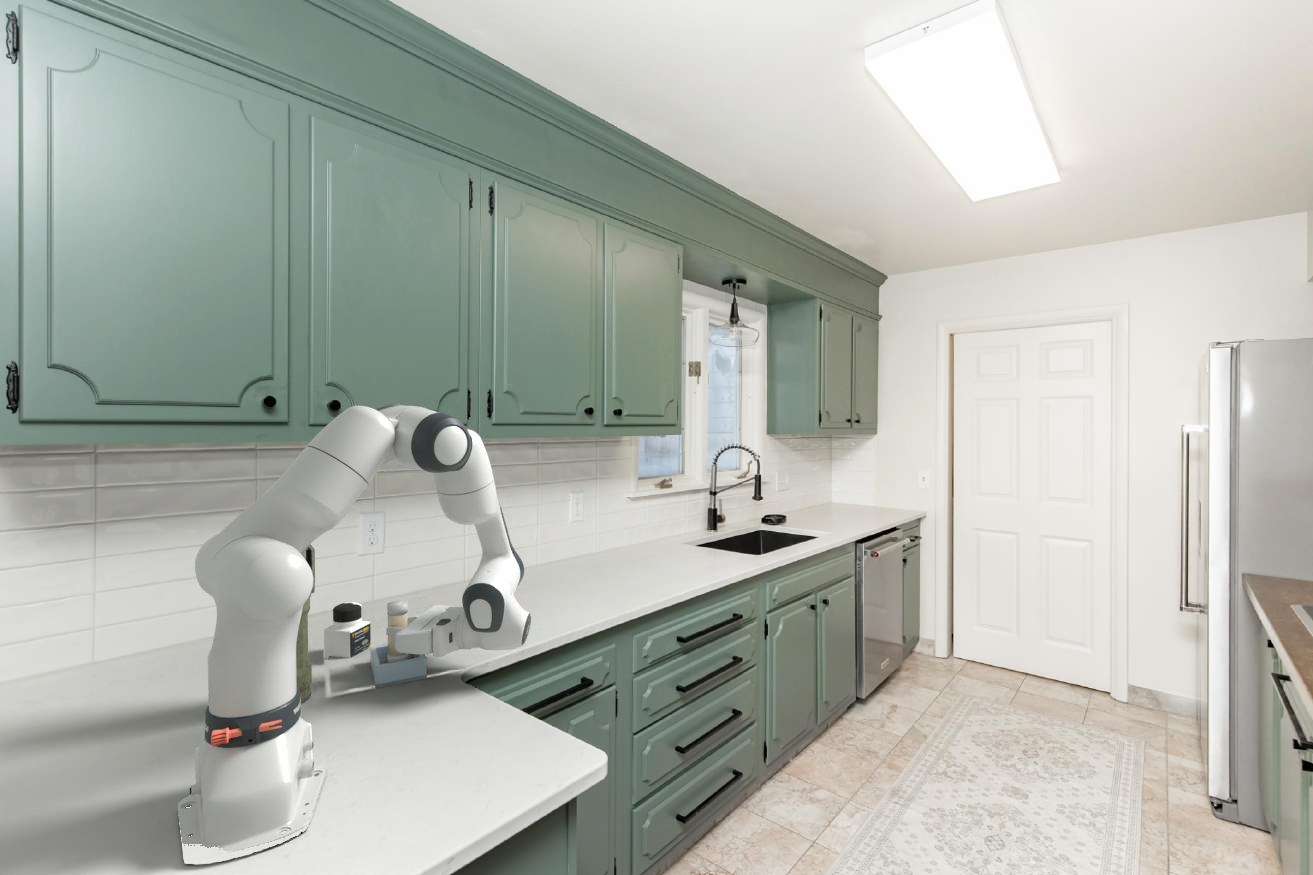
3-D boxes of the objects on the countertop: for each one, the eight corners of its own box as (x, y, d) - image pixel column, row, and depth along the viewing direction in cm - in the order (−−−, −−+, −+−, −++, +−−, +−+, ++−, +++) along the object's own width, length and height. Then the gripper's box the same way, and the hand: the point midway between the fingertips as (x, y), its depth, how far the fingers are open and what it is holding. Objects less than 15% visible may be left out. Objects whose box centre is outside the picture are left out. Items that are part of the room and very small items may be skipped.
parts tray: (426, 678, 132) (426, 657, 132) (375, 688, 127) (375, 667, 127) (417, 658, 143) (417, 639, 143) (370, 667, 138) (370, 647, 138)
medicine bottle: (350, 662, 140) (350, 610, 140) (323, 659, 142) (322, 608, 141) (371, 650, 147) (370, 601, 147) (345, 647, 149) (344, 598, 148)
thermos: (240, 709, 118) (237, 528, 117) (296, 683, 129) (293, 518, 128) (274, 717, 115) (270, 531, 113) (327, 690, 126) (325, 521, 125)
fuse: (409, 663, 134) (409, 604, 134) (388, 667, 132) (388, 607, 132) (407, 656, 138) (406, 599, 137) (386, 660, 136) (386, 602, 135)
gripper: (472, 598, 144) (414, 597, 145) (437, 629, 124) (370, 628, 124) (472, 625, 145) (414, 623, 145) (437, 660, 124) (370, 658, 125)
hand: (393, 626), depth 135 cm, fingers closed on fuse, 4 cm apart
